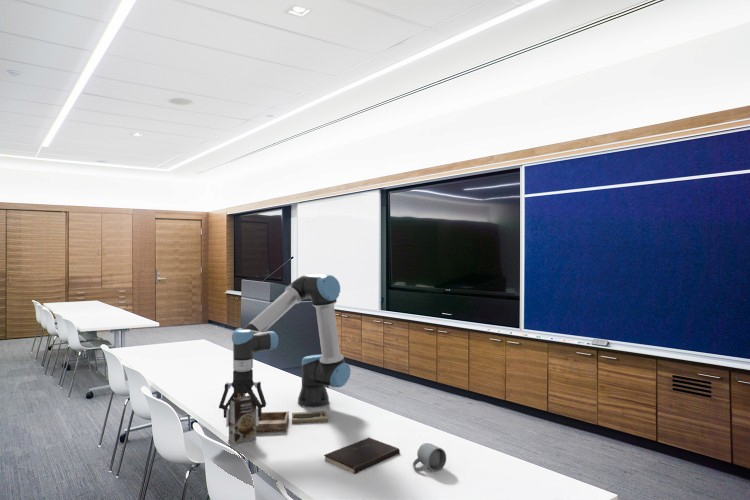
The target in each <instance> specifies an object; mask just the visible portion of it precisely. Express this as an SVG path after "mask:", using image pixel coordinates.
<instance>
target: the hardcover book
mask: <svg viewBox="0 0 750 500" xmlns="http://www.w3.org/2000/svg"><path fill="white" fill-rule="evenodd" d="M400 451H401V450H400V448H398V447H396V446H393V445H390V444H387V443H385V442H382V441H379V440H377V439H375V438H372V437H367V438H364V439H361V440H359V441H356V442H354V443H351V444H349V445H346V446H343V447H341V448H339V449H336V450H333V451H331V452H328V453H325V454H324V455H323V457H324V460H325V461H327V462H329V463H331V464H332V465H335V466H336V467H340V468H342V469H344V470H346V471H348V472H350V473H353V475H356V474H359V472H363V471H365V470H367V469H369V468H371V467H373V466H376V465H377V464H380V463H382V462H384V461H387V460H389V459H391V458H393V457H395V456H397V455H400V453H401V452H400Z"/></svg>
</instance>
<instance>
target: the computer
mask: <svg viewBox="0 0 750 500" xmlns="http://www.w3.org/2000/svg"><path fill="white" fill-rule="evenodd" d="M328 415H329V414H328V411H327V410H318V411H303V412H301V411H300V412H292V413H291V424H292V425H298V424H299V425H300V424H316V423H328V422H329V416H328Z"/></svg>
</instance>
